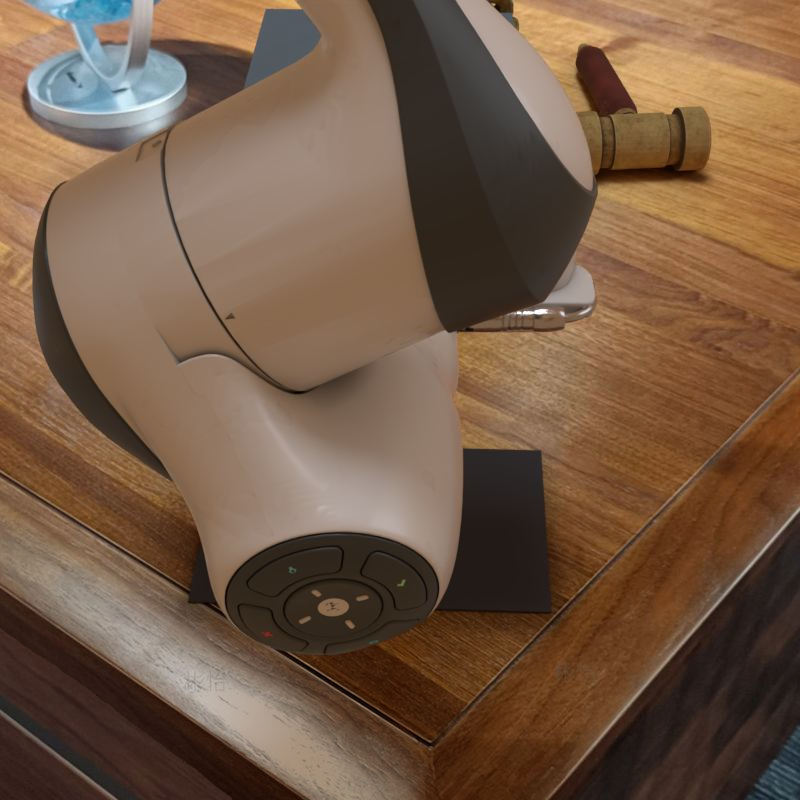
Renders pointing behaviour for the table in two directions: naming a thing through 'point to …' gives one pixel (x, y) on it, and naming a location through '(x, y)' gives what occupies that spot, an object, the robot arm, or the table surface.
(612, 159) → the gavel
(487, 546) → the mat
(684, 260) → the table surface
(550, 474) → the table surface
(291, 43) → the cabinet
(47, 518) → the table surface
